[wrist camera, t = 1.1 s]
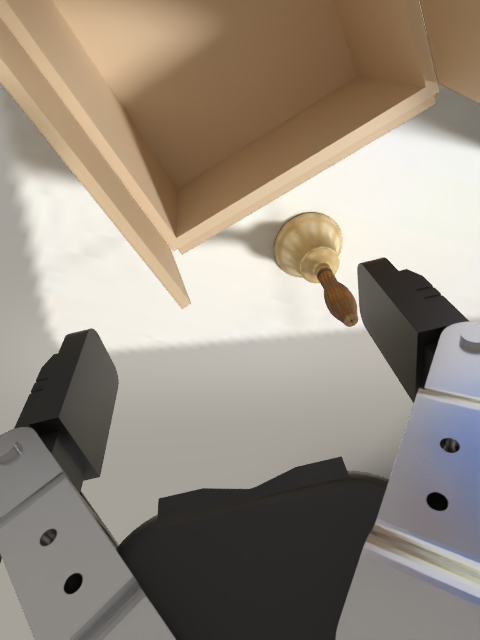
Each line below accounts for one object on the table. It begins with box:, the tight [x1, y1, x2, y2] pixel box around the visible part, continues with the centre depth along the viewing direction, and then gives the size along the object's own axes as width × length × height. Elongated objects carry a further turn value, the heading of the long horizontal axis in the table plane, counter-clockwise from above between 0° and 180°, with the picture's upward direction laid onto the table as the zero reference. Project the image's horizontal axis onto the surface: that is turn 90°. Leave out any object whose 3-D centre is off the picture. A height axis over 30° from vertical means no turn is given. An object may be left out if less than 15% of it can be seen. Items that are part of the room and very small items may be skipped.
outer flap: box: [0, 18, 191, 309], centre depth 21 cm, size 10×23×1 cm
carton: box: [0, 0, 440, 255], centre depth 30 cm, size 22×25×14 cm
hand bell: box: [274, 213, 358, 327], centre depth 42 cm, size 8×8×16 cm
